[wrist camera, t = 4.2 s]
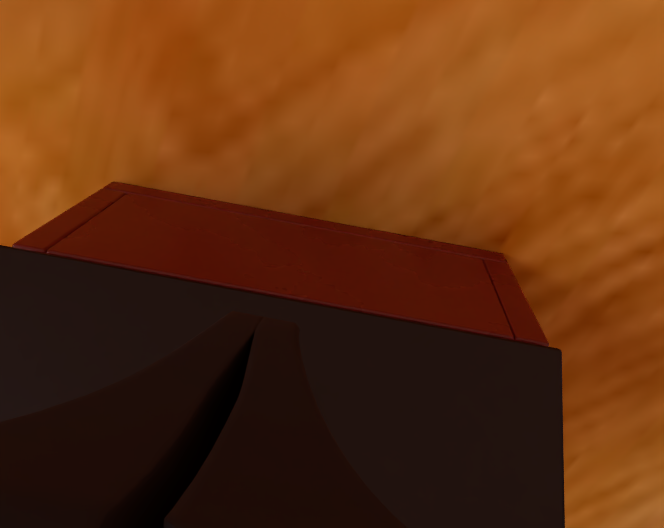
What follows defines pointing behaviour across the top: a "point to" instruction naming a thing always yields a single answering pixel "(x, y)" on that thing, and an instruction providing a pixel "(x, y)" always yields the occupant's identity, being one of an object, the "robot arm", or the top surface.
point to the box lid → (314, 383)
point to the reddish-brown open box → (293, 259)
